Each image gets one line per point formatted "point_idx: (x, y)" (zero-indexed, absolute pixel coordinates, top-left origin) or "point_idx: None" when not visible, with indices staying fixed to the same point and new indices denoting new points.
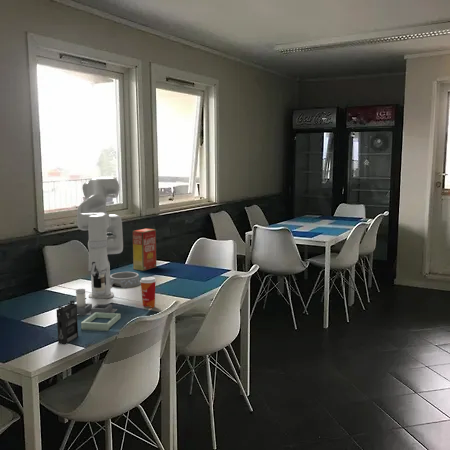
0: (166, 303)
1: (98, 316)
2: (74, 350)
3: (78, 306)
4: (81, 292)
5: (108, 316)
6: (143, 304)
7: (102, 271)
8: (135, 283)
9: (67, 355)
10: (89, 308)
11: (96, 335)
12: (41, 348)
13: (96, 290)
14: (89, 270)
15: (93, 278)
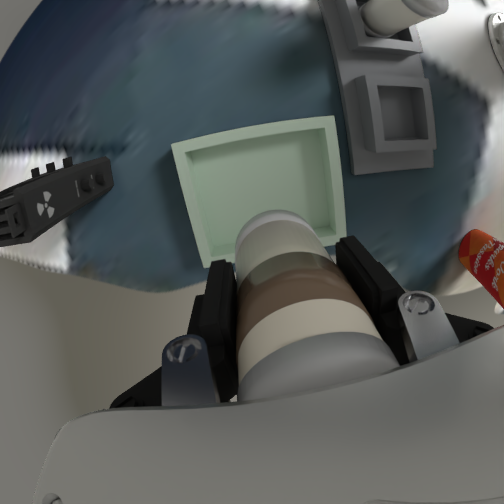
0: None
1: (321, 137)
2: (45, 254)
3: (365, 9)
4: (409, 2)
5: (328, 187)
6: (470, 242)
7: None
8: None
9: (24, 258)
10: (393, 52)
11: (151, 241)
12: (13, 159)
13: (237, 256)
14: (64, 439)
15: (171, 348)
